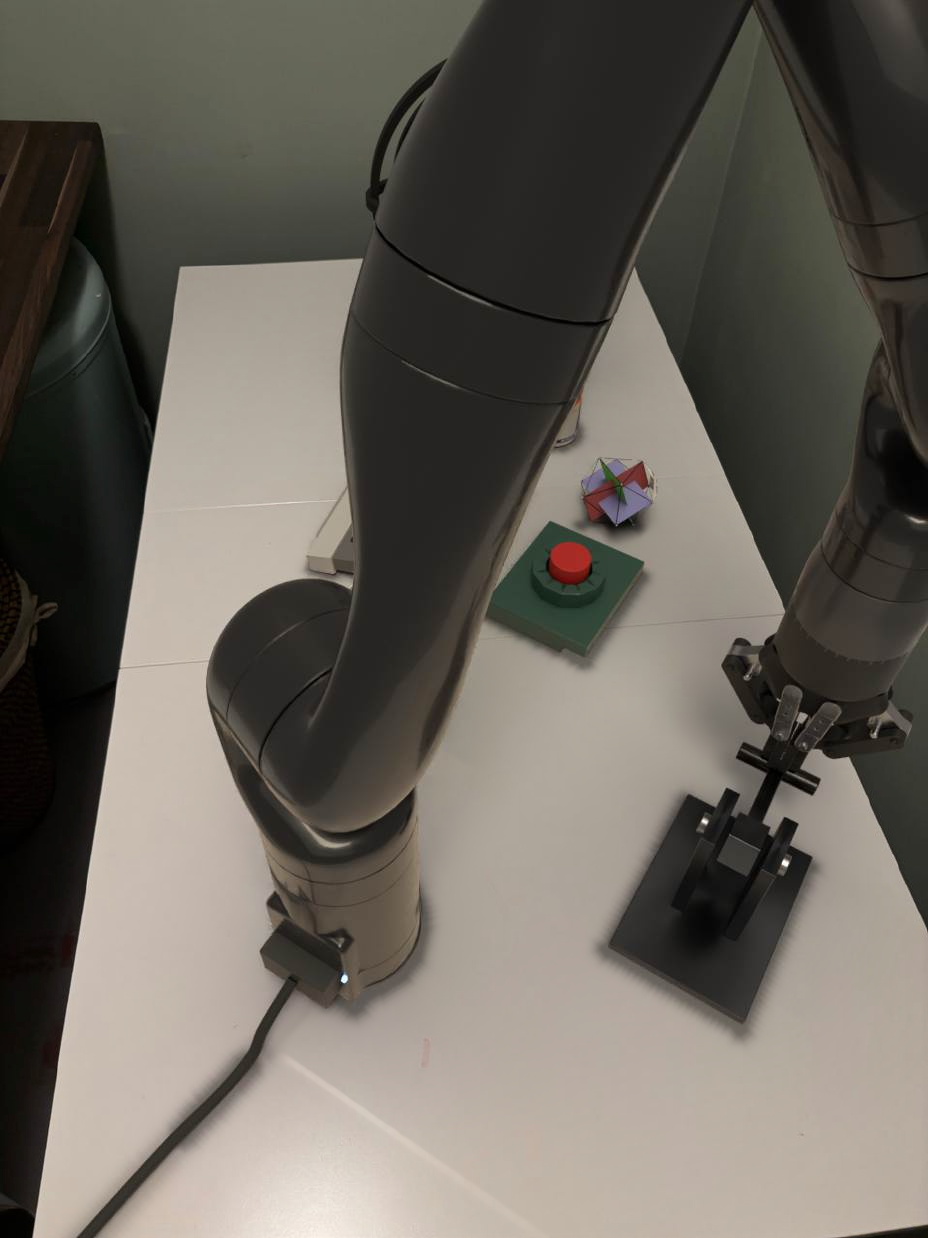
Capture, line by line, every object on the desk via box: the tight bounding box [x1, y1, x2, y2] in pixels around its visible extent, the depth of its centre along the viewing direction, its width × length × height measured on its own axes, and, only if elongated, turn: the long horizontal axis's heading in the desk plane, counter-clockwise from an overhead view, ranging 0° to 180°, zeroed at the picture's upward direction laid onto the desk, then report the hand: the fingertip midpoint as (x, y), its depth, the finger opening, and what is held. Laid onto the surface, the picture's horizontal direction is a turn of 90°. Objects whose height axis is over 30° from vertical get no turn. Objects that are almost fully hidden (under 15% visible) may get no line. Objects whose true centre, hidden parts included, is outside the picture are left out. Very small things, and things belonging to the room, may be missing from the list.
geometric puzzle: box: [580, 456, 658, 527], centre depth 96 cm, size 7×7×8 cm
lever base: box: [608, 787, 813, 1025], centre depth 68 cm, size 14×10×12 cm
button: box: [549, 542, 591, 585], centre depth 88 cm, size 4×4×2 cm
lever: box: [716, 741, 822, 877], centre depth 68 cm, size 12×6×2 cm, turn 149°
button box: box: [485, 520, 645, 658], centre depth 90 cm, size 12×10×4 cm
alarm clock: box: [305, 485, 354, 575], centre depth 95 cm, size 17×5×16 cm
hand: (780, 761), depth 72 cm, fingers closed
